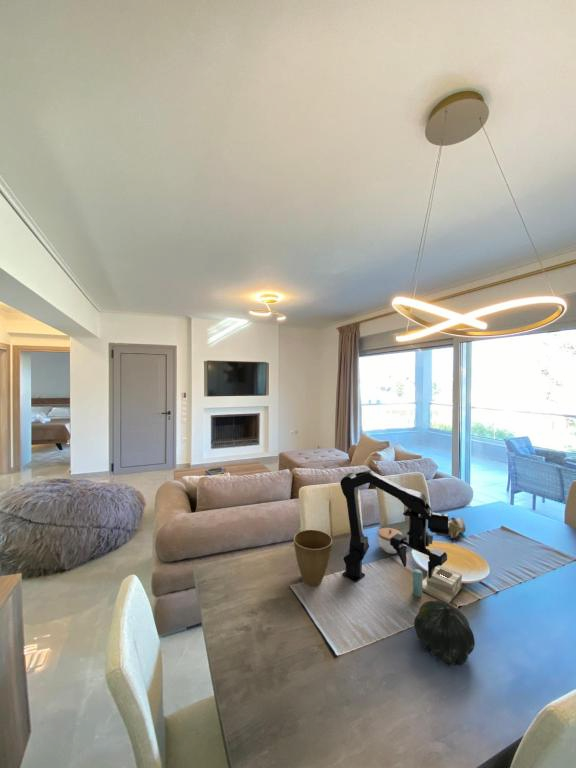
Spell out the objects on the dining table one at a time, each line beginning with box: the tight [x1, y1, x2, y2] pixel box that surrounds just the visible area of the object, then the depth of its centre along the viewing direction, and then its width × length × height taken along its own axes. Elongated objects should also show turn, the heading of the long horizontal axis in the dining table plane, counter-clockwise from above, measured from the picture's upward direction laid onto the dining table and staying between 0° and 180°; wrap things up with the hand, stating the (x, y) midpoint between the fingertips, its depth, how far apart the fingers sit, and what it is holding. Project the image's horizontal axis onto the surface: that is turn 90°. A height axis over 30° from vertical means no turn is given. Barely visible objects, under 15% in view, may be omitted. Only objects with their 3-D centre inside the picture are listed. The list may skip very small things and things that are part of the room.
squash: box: [413, 600, 476, 667], centre depth 88 cm, size 14×15×15 cm
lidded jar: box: [377, 527, 404, 554], centre depth 142 cm, size 11×11×9 cm
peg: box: [412, 568, 423, 598], centre depth 112 cm, size 3×3×8 cm
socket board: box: [422, 565, 463, 604], centre depth 115 cm, size 12×11×5 cm
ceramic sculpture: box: [448, 517, 467, 539], centre depth 157 cm, size 11×9×15 cm
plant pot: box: [293, 529, 333, 586], centre depth 120 cm, size 15×15×16 cm
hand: (417, 571), depth 112 cm, fingers open, 9 cm apart
